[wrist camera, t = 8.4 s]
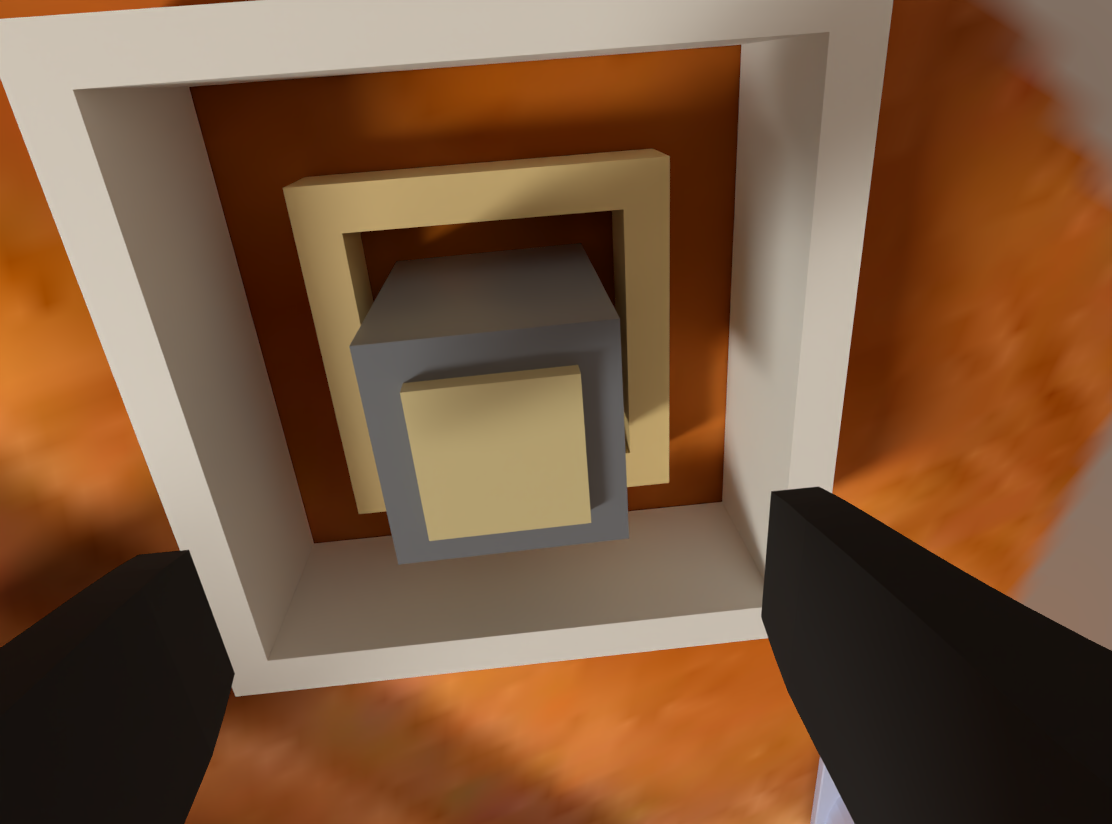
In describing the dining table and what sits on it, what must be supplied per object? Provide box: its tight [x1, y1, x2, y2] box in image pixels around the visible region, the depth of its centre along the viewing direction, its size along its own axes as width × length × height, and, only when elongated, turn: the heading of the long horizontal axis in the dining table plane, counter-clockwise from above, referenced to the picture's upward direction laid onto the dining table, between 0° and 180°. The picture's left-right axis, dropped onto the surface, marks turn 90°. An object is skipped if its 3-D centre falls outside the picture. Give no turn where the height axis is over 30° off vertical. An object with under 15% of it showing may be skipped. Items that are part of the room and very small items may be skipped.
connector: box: [349, 243, 629, 565], centre depth 15 cm, size 4×4×6 cm
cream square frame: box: [0, 0, 893, 697], centre depth 16 cm, size 14×14×4 cm
